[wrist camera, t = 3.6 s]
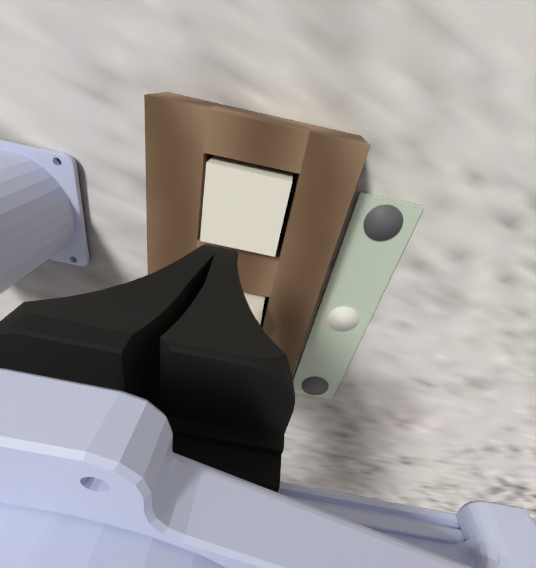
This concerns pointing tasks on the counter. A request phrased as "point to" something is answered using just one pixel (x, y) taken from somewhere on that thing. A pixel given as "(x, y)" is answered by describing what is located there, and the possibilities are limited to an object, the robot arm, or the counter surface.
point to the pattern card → (354, 290)
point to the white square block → (244, 205)
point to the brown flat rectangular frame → (262, 151)
